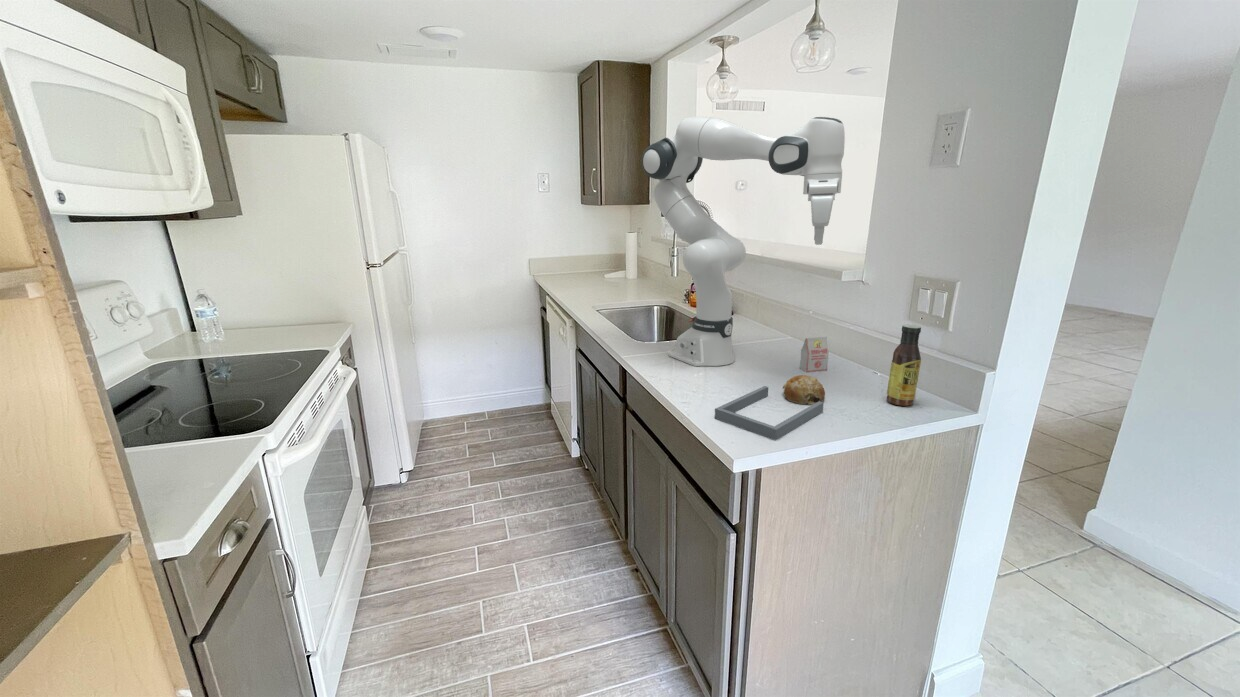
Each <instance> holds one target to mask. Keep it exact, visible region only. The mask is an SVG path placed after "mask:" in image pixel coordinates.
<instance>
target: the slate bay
mask: <svg viewBox="0 0 1240 697" xmlns="http://www.w3.org/2000/svg"><path fill="white" fill-rule="evenodd" d="M768 396H769V386H766V385H764V386H761V387H759V388H757V389H755V390H752V391H750V392H748V393H746V394H744V395H741V396H740V397H738V398H735V399H733V400H731V401H729V402H727V403H724V404H723V405H720V406H718V407H716V408H715V409H714V419H715V420H718V421H721V422H724V423H726V424H729V425H733V426H735V427H738V428H740V429H743V430H746V431H748V432H751V433H755V434H757V435H760V436H762V437H765V438H768V439H770V440H774V441H777V440H779V439H780V438H781V437H783V436H786V434H788V433H790V432H792V431H794V430H795V429H796V428H798V427H800V426H802V425H803V424H805V423H807V422H808V421H810V420H812V419H814V418H815V417H817V416H819V415H820V414H822V413H823V412H824V405H825V404H824V402H823V401H822V402H820V401H818V402H817V403H815V404H813V405H809V406H808V407H806V408H804V409H803V410H801V411H799V412H797V413H796V414H793V415H792V416H790V417H789V418H786V419H785V420H783V421H781V422H779V423H778V424H776V425H771V424H769V423H766V422H762V421H760V420H758V419H754V418H751V417H747V416H746V415H742V414H739V413H737V412H738V411H740V410H741V409H743V408H744V409H745V408H746V407H749V406H751V405H752V404H754V403H756V402H759V401H760V400H762V399H765V398H766V397H768Z"/></svg>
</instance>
